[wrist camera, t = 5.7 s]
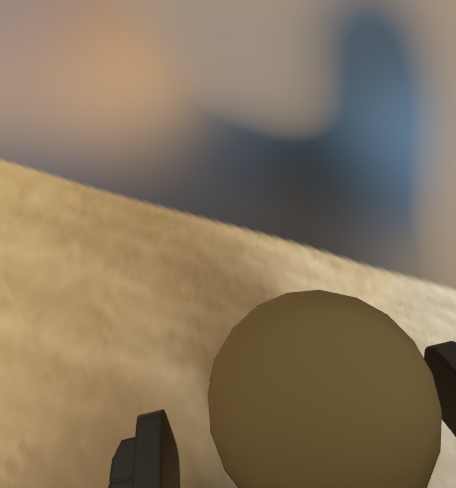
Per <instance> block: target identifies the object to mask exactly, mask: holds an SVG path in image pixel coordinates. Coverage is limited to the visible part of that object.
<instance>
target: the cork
mask: <svg viewBox="0 0 456 488" xmlns="http://www.w3.org/2000/svg"><path fill="white" fill-rule="evenodd" d="M208 403H209V417H210V431H211V435H212V437H213V440H214V443H215V445H216V448H217V451H218V453H219V456H220V459H221V461H222V464H223V467H224V469H225V471H226V472H227V474H228V475H229V476H230V478H231V479H232V480H233V481H234V483H235V484H236V485H237V487H238V488H427V486H428V483H429V480H430V478H431V475H432V472H433V469H434V467H435V464H436V461H437V459H438V456H439V453H440V446H441V422H442V410H441V406H440V402H439V398H438V394H437V390H436V386H435V382H434V378H433V374H432V372H431V370H430V369H429V367H428V365H427V363H426V362H425V360H424V358H423V356H422V355H421V353H420V351H419V349H418V348H417V346H416V344H415V342H414V341H413V340H412V339H411V338H410V337H409V336H408V335H407V334H406V333H405V332H404V331H403V330H402V329H401V328H400V327H399V326H398V325H397V324H396V323H395V322H394V321H393V320H392V319H391V318H390V317H389V316H388V315H387V314H385V313H383V312H382V311H380V310H378V309H376V308H374V307H373V306H371V305H369V304H367V303H365V302H363V301H362V300H360V299H358V298H355V297H350V296H346V295H341V294H337V293H332V292H327V291H322V290H313V291H303V292H292V293H286V294H284V295H281V296H279V297H277V298H274V299H272V300H270V301H268V302H265V303H263V304H261V305H258V306H257V307H256V308H255V309H254V310H252V311H251V312H250V313H249V314H248V315H247V316H246V317H245V318H244V319H242V320H241V321H240V322H239V323H238V324H237V325H236V326H235V327H234V328H233V329H232V331H231V332H230V334H229V336H228V338H227V339H226V341H225V343H224V345H223V346H222V348H221V350H220V351H219V353H218V355H217V357H216V358H215V361H214V365H213V370H212V374H211V379H210V386H209V391H208Z"/></svg>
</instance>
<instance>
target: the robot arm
mask: <svg viewBox="0 0 456 488" xmlns="http://www.w3.org/2000/svg"><path fill="white" fill-rule="evenodd" d="M424 360H425V362H426V363H427V365H428V367H429V369H430V370H431V372H432V374H433V378H434V382H435V386H436V390H437V394H438V398H439V402H440V406H441V410H442V420H443V421H444V423H445V424H446V425H447V426H448V428H449V429H450V430H451V431H452V433H453V434H454V435H455V437H456V342H454V341H449V342H445V343H440V344H436V345H432V346H428V347H427V348H426V349H425V354H424ZM109 481H110V484H109V487H108V488H180V470H179V457H178V450H177V445H176V442H175V439H174V436H173V433H172V430H171V427H170V424H169V421H168V418H167V415H166V413H165V410H164V409H163V410H159V411H154V412H150V413H146V414H142V415H139V416H138V417H137V423H136V436H135V437H133V438H129V439H125V440H122V441H121V443H120V445H119V447H118V449H117V451H116V453H115V455H114V457H113V459H112V464H111V472H110V479H109Z"/></svg>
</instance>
